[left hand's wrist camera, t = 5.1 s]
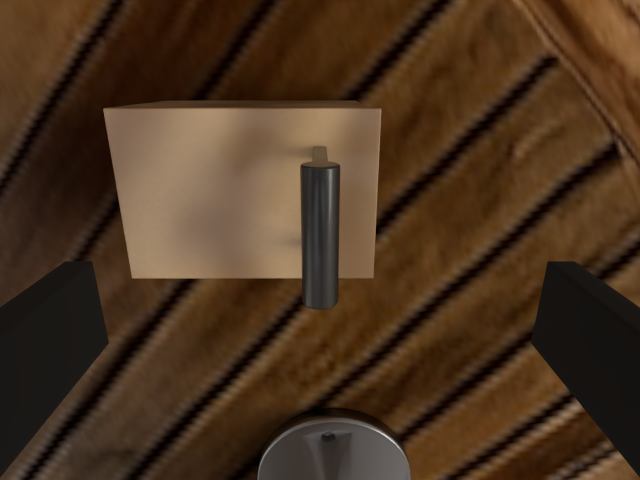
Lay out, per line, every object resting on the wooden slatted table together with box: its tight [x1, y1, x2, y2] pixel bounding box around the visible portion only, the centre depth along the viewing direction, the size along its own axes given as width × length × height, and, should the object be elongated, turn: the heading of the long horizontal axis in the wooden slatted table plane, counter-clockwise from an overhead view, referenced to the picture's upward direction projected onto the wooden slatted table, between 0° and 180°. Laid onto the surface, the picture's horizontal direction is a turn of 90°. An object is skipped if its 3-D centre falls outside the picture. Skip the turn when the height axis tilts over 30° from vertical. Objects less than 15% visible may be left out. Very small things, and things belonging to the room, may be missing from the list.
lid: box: [103, 107, 381, 309], centre depth 21 cm, size 14×10×8 cm
